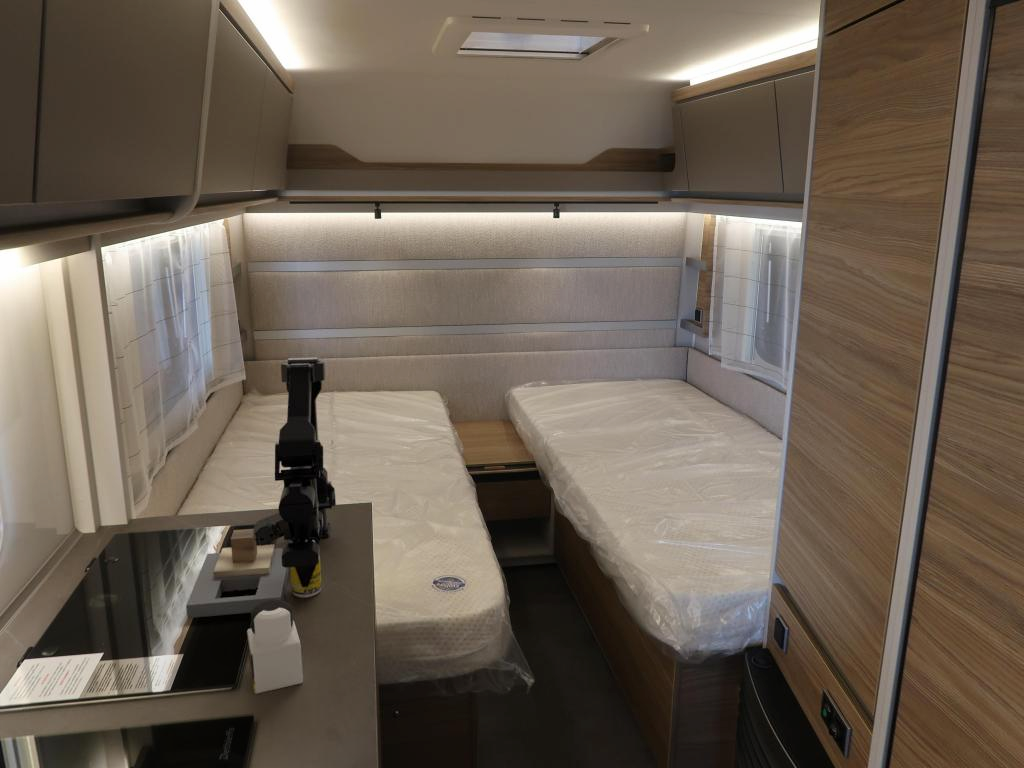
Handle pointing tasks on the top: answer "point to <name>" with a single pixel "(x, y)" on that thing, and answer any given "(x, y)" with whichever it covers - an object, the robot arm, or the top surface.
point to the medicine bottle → (274, 647)
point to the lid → (244, 556)
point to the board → (210, 589)
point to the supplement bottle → (313, 585)
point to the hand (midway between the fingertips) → (306, 578)
